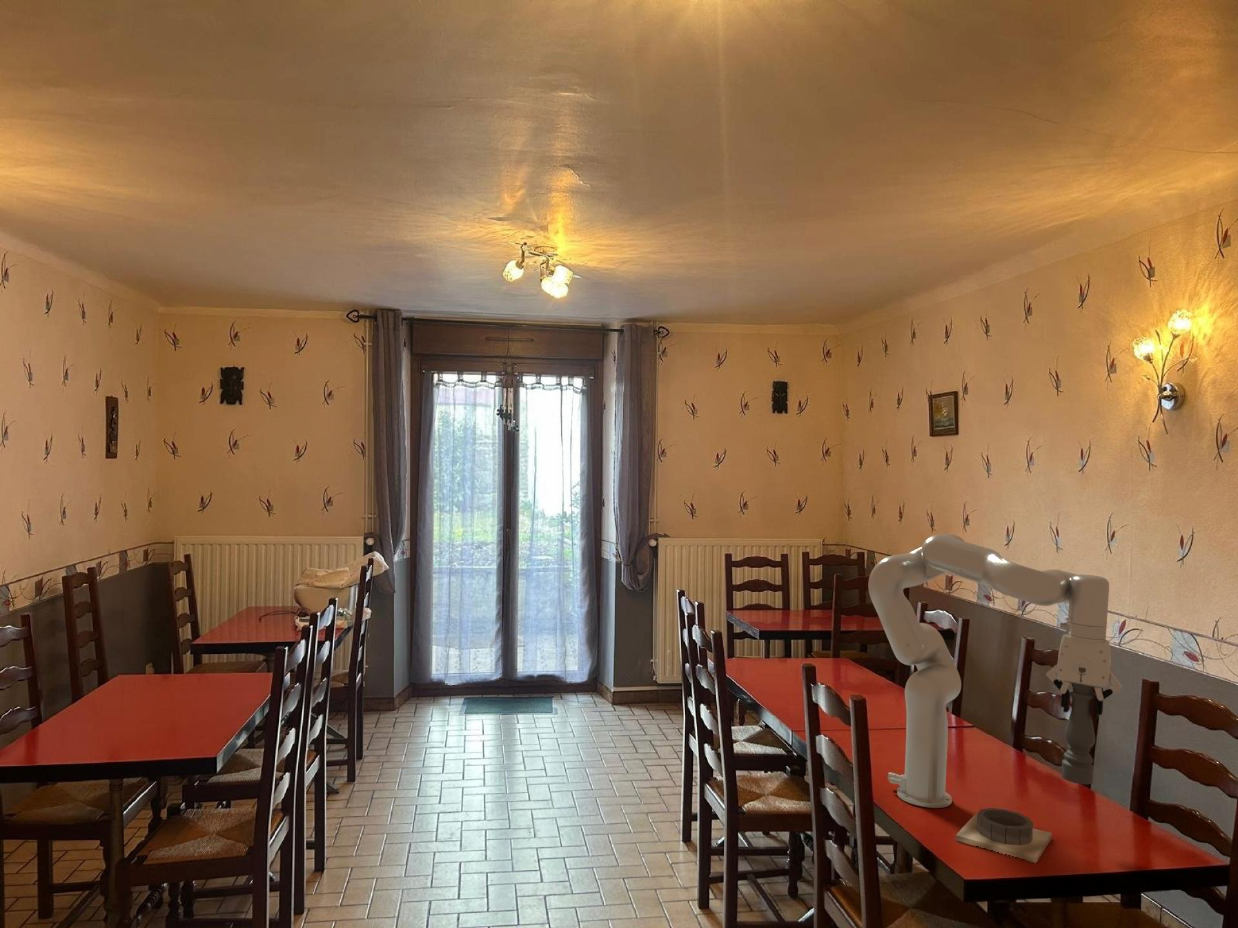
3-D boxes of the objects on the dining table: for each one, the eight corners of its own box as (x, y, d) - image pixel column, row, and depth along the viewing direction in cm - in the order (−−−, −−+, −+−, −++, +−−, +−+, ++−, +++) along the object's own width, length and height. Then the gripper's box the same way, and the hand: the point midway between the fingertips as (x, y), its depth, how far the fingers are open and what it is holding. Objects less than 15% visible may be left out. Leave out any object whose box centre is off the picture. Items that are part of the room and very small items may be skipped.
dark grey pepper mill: (1064, 771, 194) (1071, 660, 194) (1095, 779, 190) (1103, 666, 190) (1058, 778, 189) (1065, 664, 189) (1089, 786, 185) (1097, 670, 185)
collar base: (955, 840, 187) (956, 818, 187) (975, 818, 200) (976, 797, 200) (1036, 863, 178) (1037, 840, 178) (1051, 838, 191) (1052, 817, 191)
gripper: (1040, 627, 191) (1035, 708, 192) (1129, 640, 181) (1123, 726, 181) (1047, 623, 197) (1042, 702, 198) (1133, 636, 187) (1128, 719, 187)
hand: (1081, 713), depth 190 cm, fingers closed on dark grey pepper mill, 5 cm apart
